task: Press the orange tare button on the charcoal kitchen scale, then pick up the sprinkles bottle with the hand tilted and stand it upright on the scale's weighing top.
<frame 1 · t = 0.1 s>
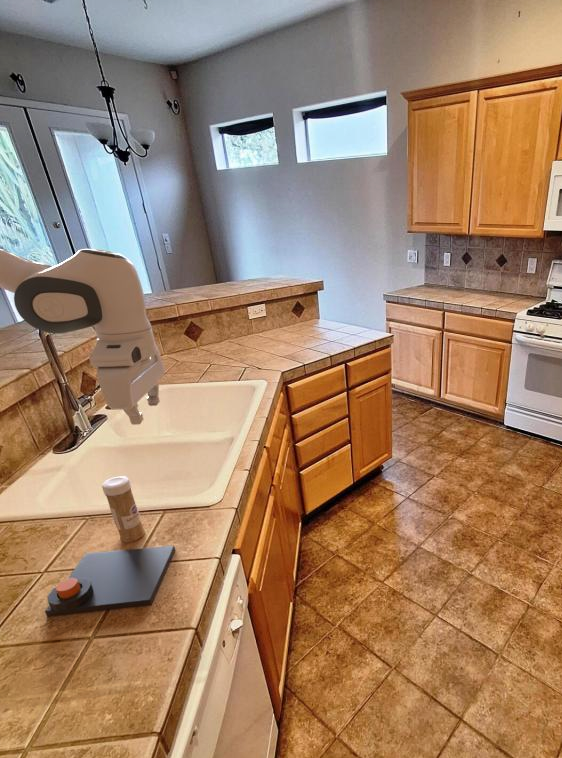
hand: (146, 413, 85), 25 cm above the counter, tool pointing down, fingers open, 8 cm apart
scale: (117, 580, 78), on the counter
tare button: (68, 588, 72), point 4 cm above the counter, slide at 0.1 cm
sprinkles bottle: (133, 536, 89), on the counter
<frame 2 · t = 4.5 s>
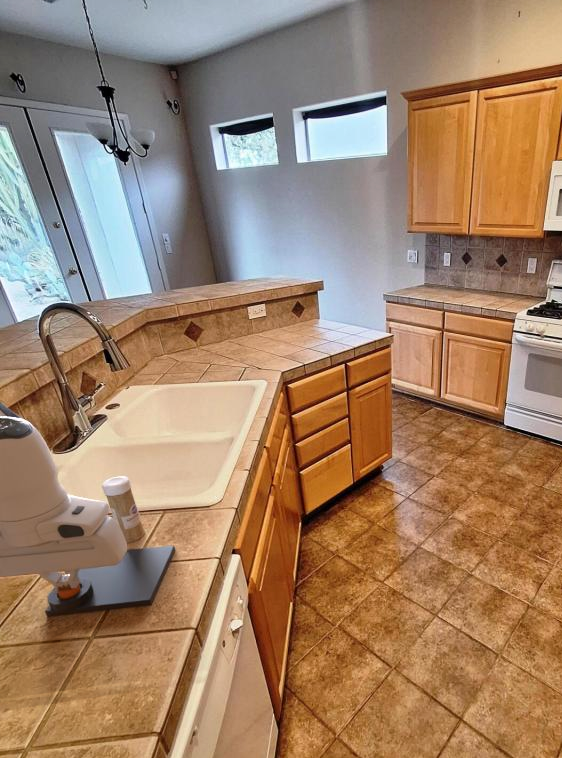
hand: (68, 586, 72), 4 cm above the counter, tool pointing down, fingers closed, pressing on tare button
tare button: (69, 590, 72), point 3 cm above the counter, slide at -0.3 cm, touching gripper
everything else where it was.
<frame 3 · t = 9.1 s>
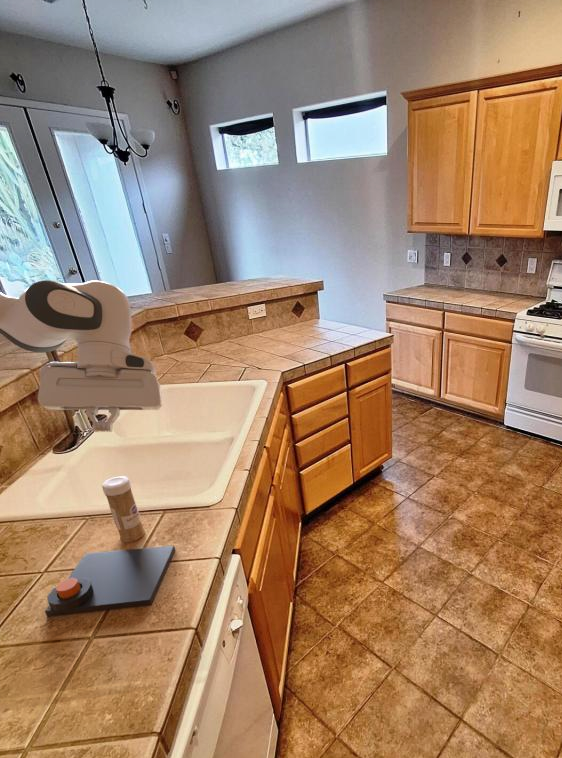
hand: (102, 431, 83), 22 cm above the counter, tool tilted 35°, fingers closed
tare button: (68, 588, 72), point 4 cm above the counter, slide at 0.1 cm
everything else where it was.
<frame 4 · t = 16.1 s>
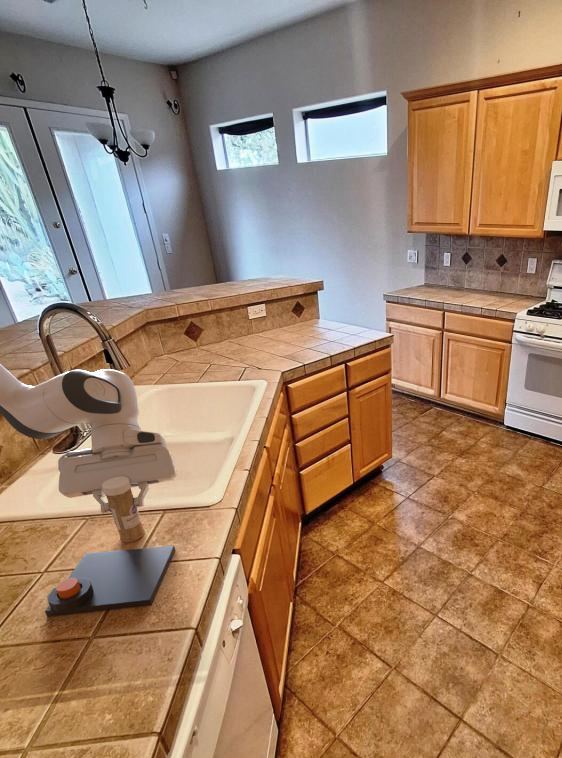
hand: (123, 509, 85), 7 cm above the counter, tool tilted 45°, fingers closed on sprinkles bottle, 4 cm apart
sprinkles bottle: (133, 536, 89), on the counter, touching gripper
everything else where it was.
when the fingers open (8 cm above the counter, at t = 23.6 s): sprinkles bottle stays where it is, resting on scale.
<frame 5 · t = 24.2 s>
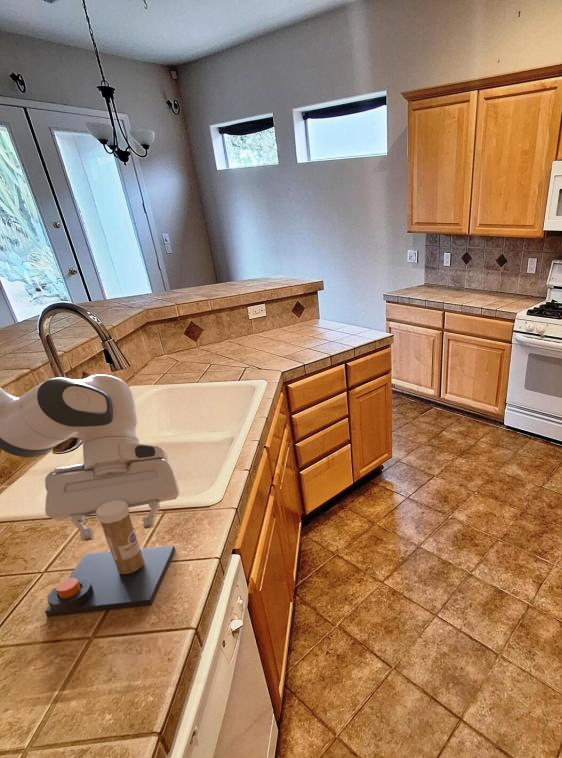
hand: (119, 533, 75), 9 cm above the counter, tool tilted 45°, fingers open, 8 cm apart
sprinkles bottle: (131, 567, 80), point 1 cm above the counter, touching scale
everything else where it was.
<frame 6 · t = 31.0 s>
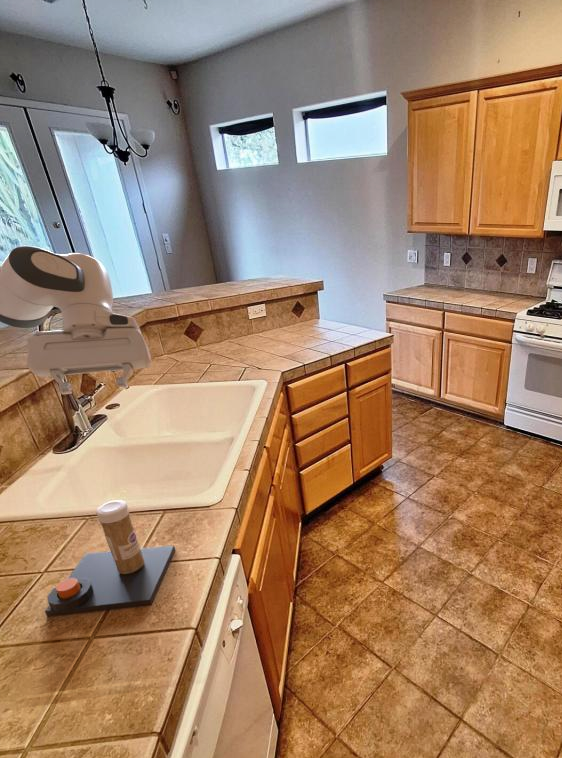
hand: (94, 390, 83), 29 cm above the counter, tool tilted 45°, fingers open, 8 cm apart
nothing on the counter moved.
at the end: tare button pushed in 0.9 cm at the most during the clip, back to where it started at the end; sprinkles bottle inside the target area on the scale (2.8 cm from its centre), point 1.2 cm above the scale's base; sprinkles bottle touching scale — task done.
